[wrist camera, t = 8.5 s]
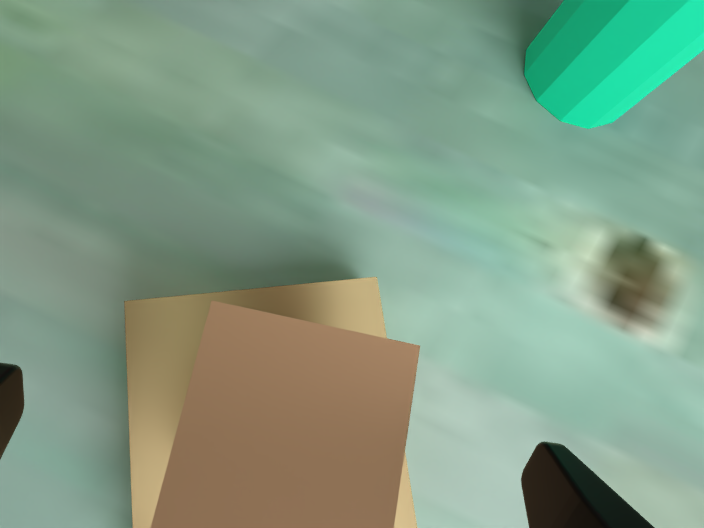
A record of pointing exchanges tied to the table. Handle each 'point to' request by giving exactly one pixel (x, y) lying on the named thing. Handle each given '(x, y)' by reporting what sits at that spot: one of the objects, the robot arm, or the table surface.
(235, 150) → the table surface
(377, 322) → the oak block
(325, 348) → the terracotta block
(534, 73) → the candle
